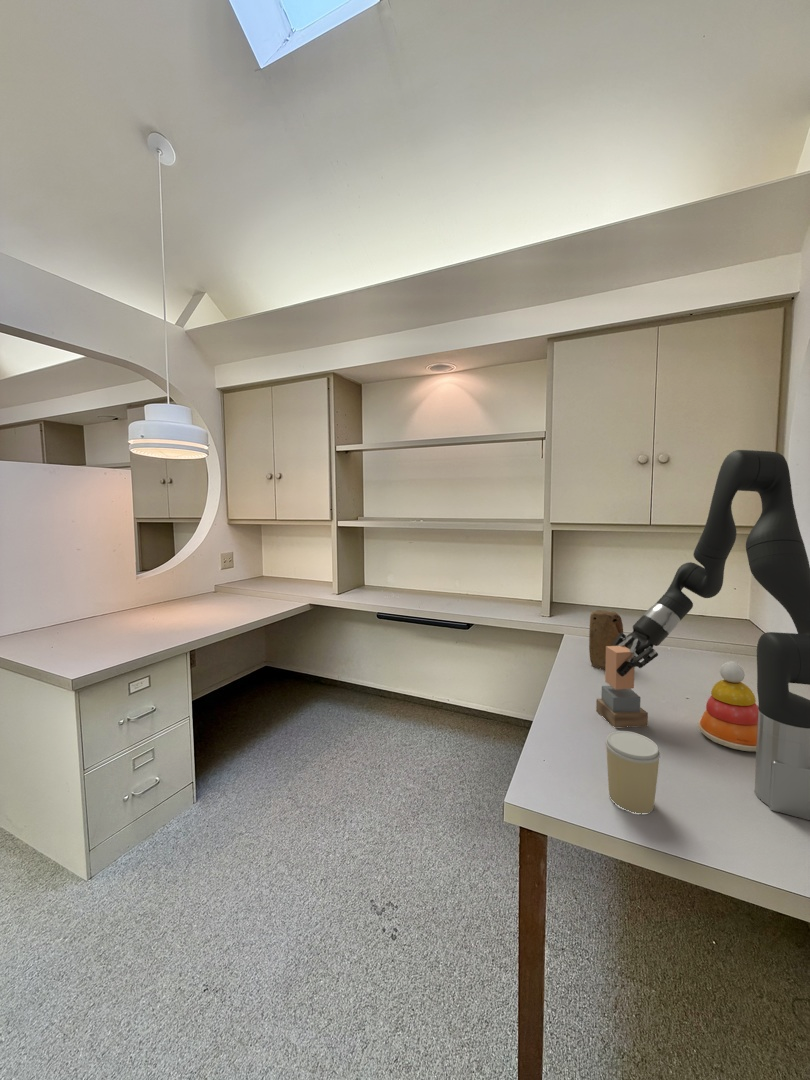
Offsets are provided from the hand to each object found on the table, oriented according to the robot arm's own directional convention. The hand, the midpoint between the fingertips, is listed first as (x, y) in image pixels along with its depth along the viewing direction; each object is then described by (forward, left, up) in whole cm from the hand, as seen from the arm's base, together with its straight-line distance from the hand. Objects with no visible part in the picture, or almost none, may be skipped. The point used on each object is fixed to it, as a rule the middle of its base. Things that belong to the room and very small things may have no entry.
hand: (613, 669), depth 112 cm
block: (+39, +4, -14) cm, 42 cm away
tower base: (+1, -2, -14) cm, 14 cm away
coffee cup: (-33, -6, -14) cm, 36 cm away
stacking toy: (+3, -27, -14) cm, 30 cm away
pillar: (+1, -2, -4) cm, 5 cm away
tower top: (+1, -2, -10) cm, 10 cm away
